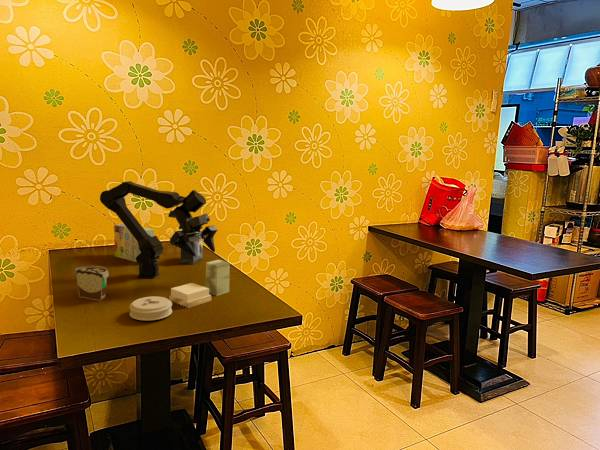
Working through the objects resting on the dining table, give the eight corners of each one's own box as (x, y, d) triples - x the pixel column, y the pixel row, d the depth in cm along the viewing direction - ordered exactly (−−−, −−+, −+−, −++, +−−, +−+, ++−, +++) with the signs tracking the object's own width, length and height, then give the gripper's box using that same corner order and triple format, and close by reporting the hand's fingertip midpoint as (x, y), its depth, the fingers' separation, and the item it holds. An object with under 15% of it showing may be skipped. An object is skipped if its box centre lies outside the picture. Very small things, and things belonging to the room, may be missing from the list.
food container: (117, 296, 157) (116, 268, 155) (104, 301, 151) (103, 272, 149) (89, 291, 161) (88, 263, 159) (75, 296, 155) (74, 268, 153)
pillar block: (205, 291, 165) (205, 262, 163) (218, 288, 170) (218, 259, 168) (216, 295, 162) (217, 265, 160) (229, 291, 166) (229, 262, 164)
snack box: (155, 262, 200) (154, 229, 197) (144, 265, 195) (144, 230, 193) (124, 254, 211) (123, 222, 208) (113, 256, 207) (112, 224, 204)
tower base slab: (169, 302, 155) (169, 295, 155) (192, 295, 163) (192, 288, 162) (188, 309, 149) (188, 302, 149) (211, 302, 157) (211, 295, 156)
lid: (177, 318, 140) (177, 303, 140) (135, 326, 134) (134, 310, 133) (165, 305, 151) (165, 291, 150) (125, 312, 144) (125, 297, 143)
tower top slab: (171, 295, 155) (171, 288, 154) (192, 289, 162) (192, 282, 161) (187, 301, 149) (187, 294, 149) (209, 295, 156) (209, 288, 156)
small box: (193, 264, 199) (193, 241, 197) (179, 263, 201) (179, 240, 199) (203, 258, 210) (203, 236, 208) (190, 257, 211) (190, 235, 209)
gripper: (174, 209, 161) (194, 245, 156) (214, 204, 175) (234, 237, 171) (161, 227, 167) (180, 262, 162) (200, 222, 181) (219, 253, 177)
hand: (204, 253), depth 168 cm, fingers open, 9 cm apart
